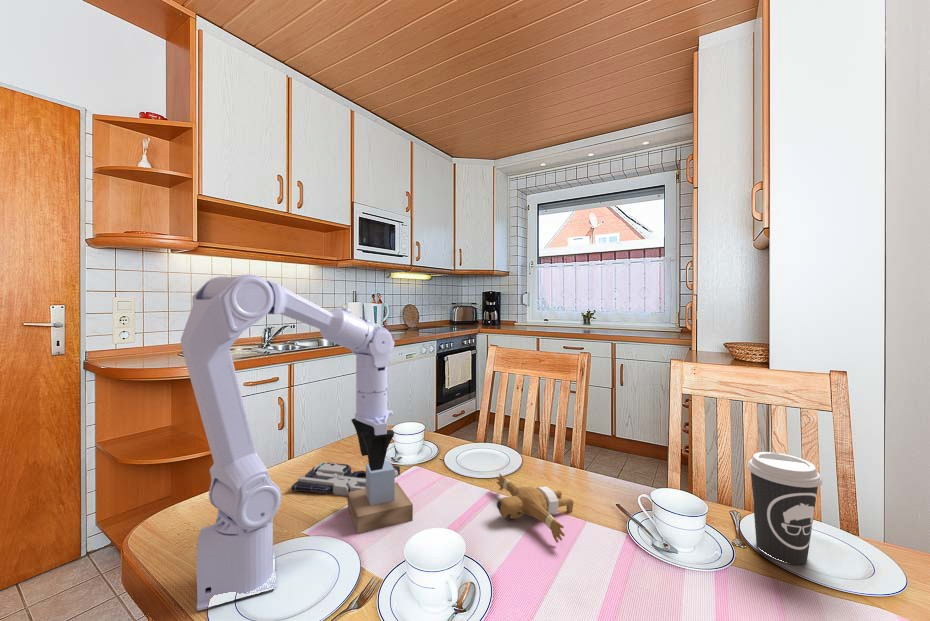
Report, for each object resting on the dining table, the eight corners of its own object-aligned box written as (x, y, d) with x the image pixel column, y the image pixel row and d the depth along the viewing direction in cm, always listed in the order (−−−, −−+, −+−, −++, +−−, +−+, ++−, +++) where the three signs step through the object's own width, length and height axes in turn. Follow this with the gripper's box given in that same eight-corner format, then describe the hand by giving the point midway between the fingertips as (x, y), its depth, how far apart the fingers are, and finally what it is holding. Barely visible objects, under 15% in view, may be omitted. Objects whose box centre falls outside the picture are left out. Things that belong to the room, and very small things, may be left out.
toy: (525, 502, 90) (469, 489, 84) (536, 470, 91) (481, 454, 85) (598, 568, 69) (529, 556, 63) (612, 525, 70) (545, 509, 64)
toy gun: (403, 473, 96) (378, 506, 82) (327, 465, 100) (290, 494, 85) (403, 462, 96) (378, 493, 81) (327, 454, 100) (290, 482, 85)
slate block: (370, 505, 74) (370, 473, 74) (366, 494, 78) (365, 464, 78) (394, 500, 76) (394, 469, 76) (389, 490, 80) (389, 460, 80)
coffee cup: (820, 550, 66) (823, 460, 66) (819, 581, 59) (822, 479, 59) (749, 528, 72) (751, 445, 72) (741, 553, 65) (743, 461, 65)
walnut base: (357, 533, 70) (357, 516, 70) (347, 507, 79) (347, 492, 79) (412, 520, 75) (412, 504, 75) (397, 496, 84) (397, 482, 84)
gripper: (403, 396, 71) (403, 472, 71) (383, 381, 84) (382, 446, 84) (363, 400, 68) (363, 480, 68) (348, 384, 81) (348, 451, 81)
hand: (371, 461), depth 76 cm, fingers open, 7 cm apart
